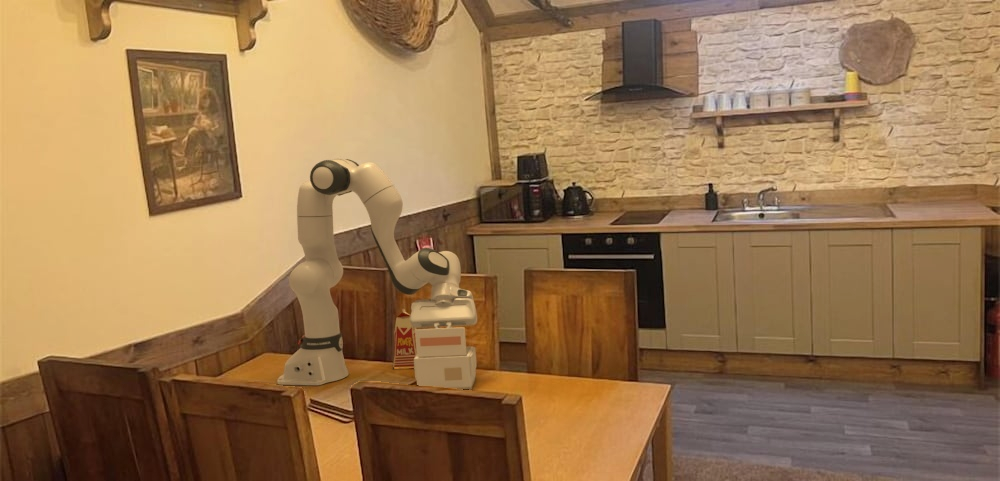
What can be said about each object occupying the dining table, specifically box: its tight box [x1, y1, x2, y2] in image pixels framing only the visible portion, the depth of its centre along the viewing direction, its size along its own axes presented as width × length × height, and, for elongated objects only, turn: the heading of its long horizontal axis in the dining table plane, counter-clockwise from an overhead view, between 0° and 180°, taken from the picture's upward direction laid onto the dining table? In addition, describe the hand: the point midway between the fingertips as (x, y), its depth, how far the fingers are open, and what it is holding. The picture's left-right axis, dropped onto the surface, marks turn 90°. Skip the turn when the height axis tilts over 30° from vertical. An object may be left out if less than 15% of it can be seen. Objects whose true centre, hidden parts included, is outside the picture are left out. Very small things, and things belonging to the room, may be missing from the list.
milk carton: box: [392, 308, 417, 368], centre depth 244 cm, size 9×9×20 cm
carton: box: [413, 345, 478, 391], centre depth 220 cm, size 17×13×10 cm
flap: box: [415, 326, 467, 357], centre depth 213 cm, size 15×8×1 cm
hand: (442, 337), depth 216 cm, fingers closed
